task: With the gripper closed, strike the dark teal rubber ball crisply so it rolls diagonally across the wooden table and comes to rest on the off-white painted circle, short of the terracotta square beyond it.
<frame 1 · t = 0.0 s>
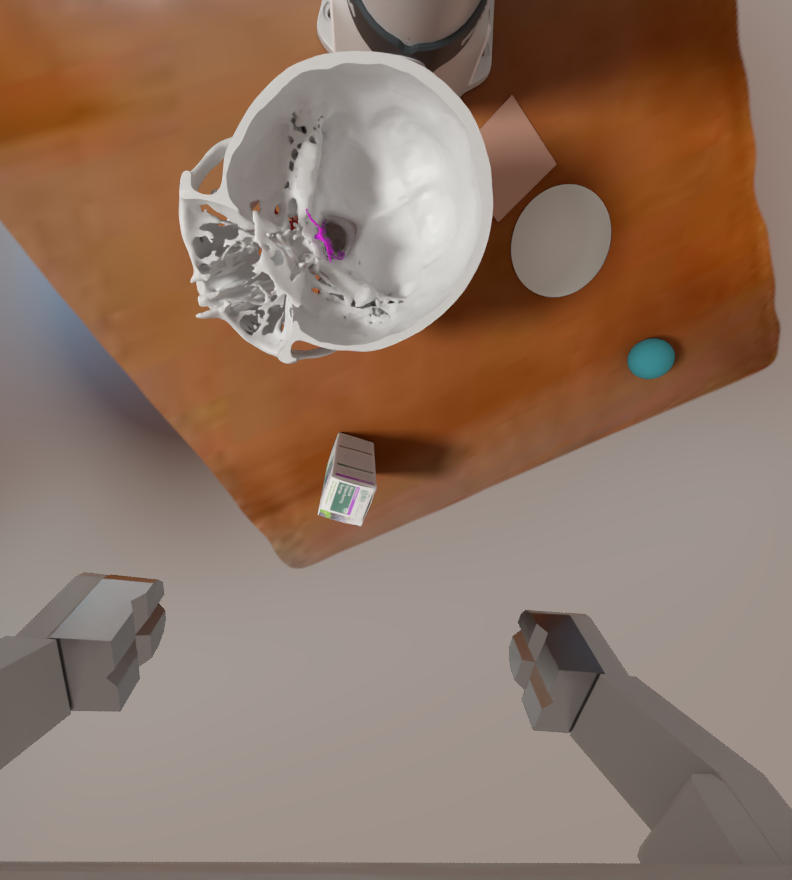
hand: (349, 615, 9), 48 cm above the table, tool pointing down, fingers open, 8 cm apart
syrup box: (351, 452, 60), on the table
ball: (650, 358, 54), on the table
skull: (345, 255, 50), on the table
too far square: (504, 162, 47), on the table
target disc: (560, 243, 50), on the table
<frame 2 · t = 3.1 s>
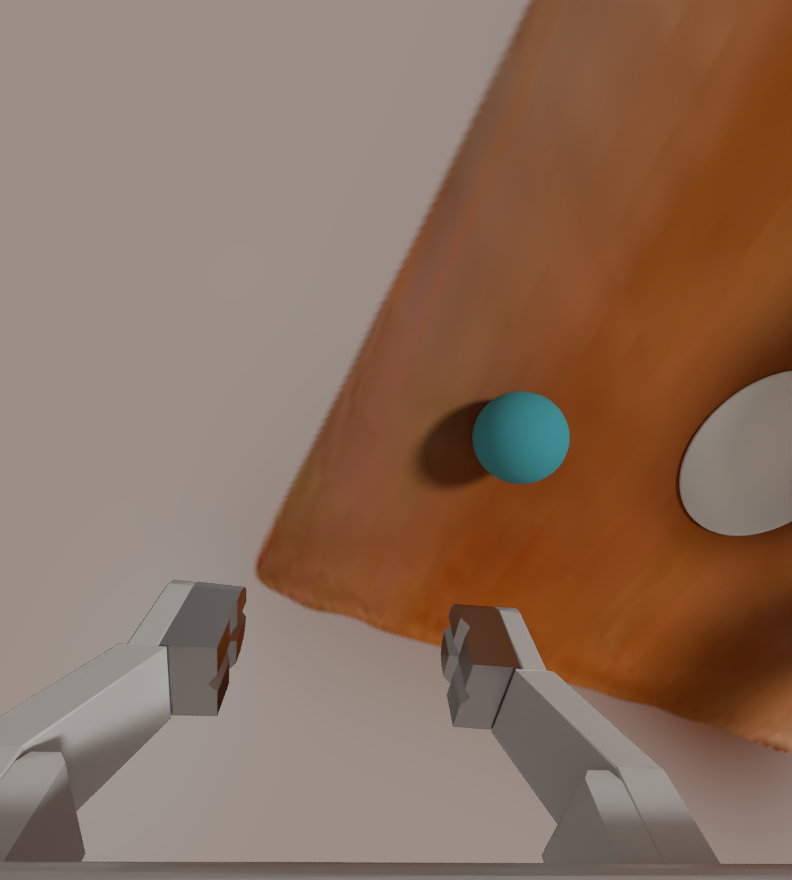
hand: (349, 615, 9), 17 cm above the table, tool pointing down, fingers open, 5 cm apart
ball: (519, 437, 23), on the table
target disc: (768, 458, 28), on the table
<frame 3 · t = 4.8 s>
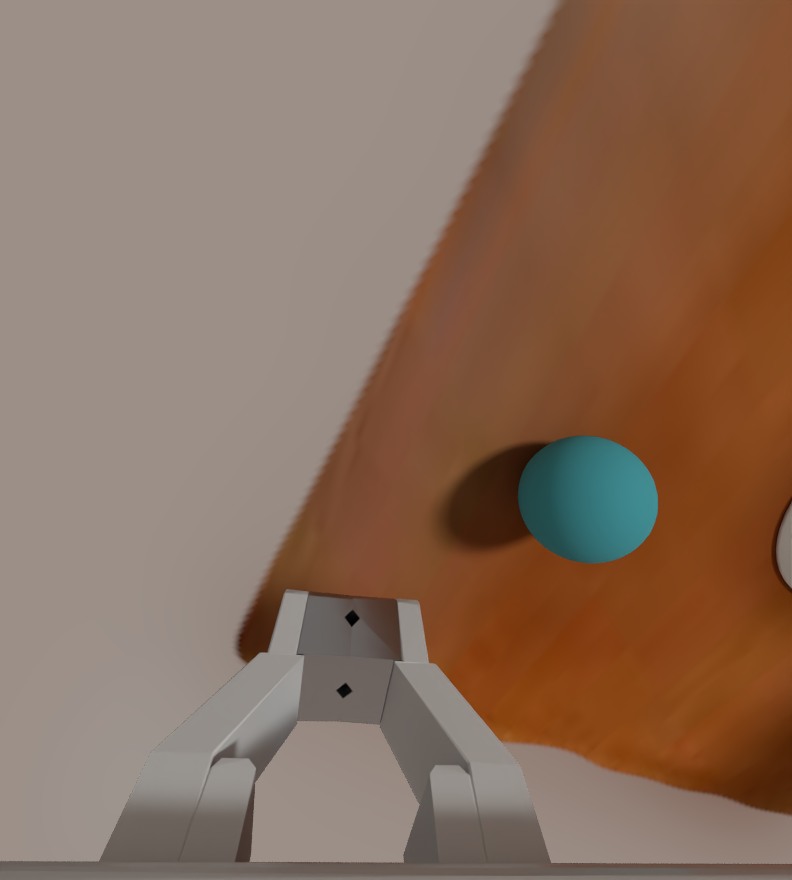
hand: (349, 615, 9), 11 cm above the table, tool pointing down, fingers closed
ball: (583, 497, 17), on the table
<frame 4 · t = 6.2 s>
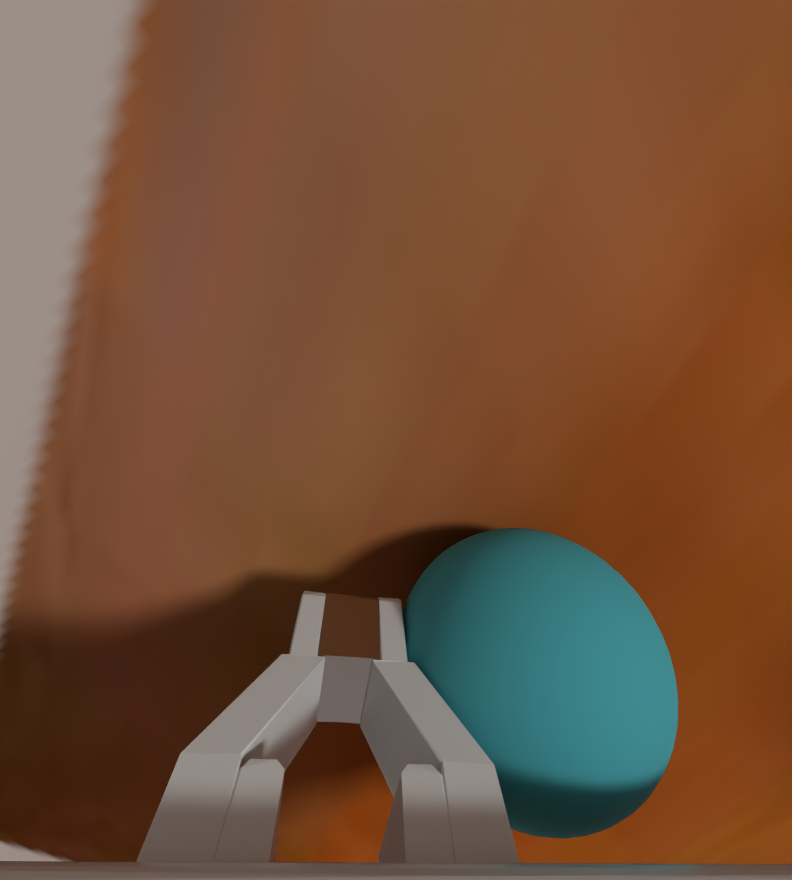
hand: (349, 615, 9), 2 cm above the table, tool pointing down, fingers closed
ball: (522, 657, 8), on the table, touching gripper
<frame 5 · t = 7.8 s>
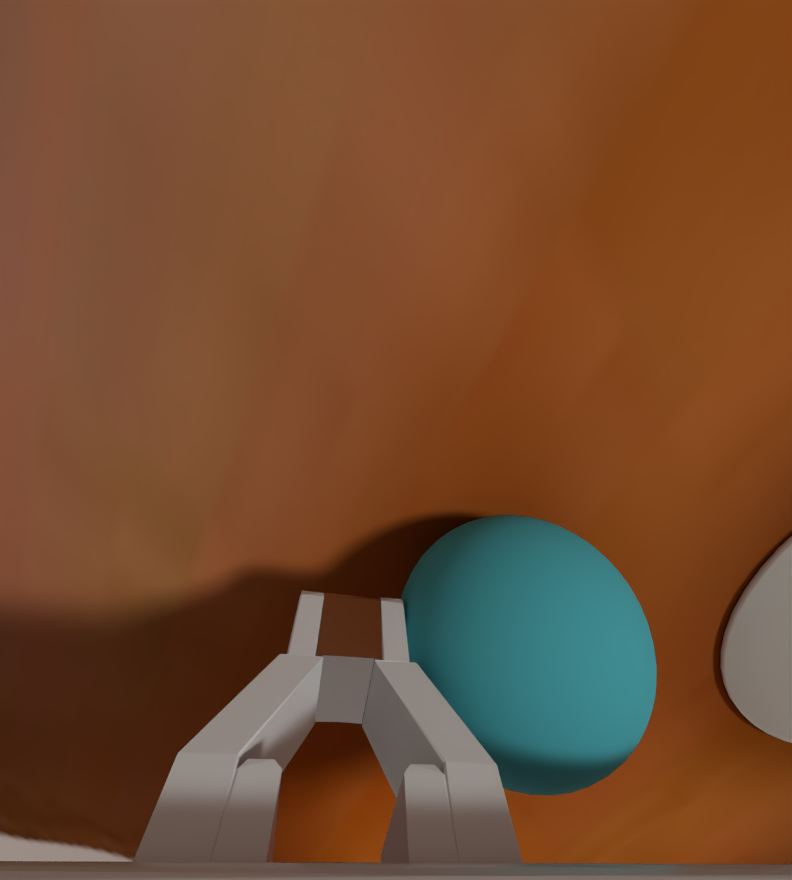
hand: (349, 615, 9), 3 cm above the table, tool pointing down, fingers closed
ball: (514, 635, 9), on the table, touching gripper
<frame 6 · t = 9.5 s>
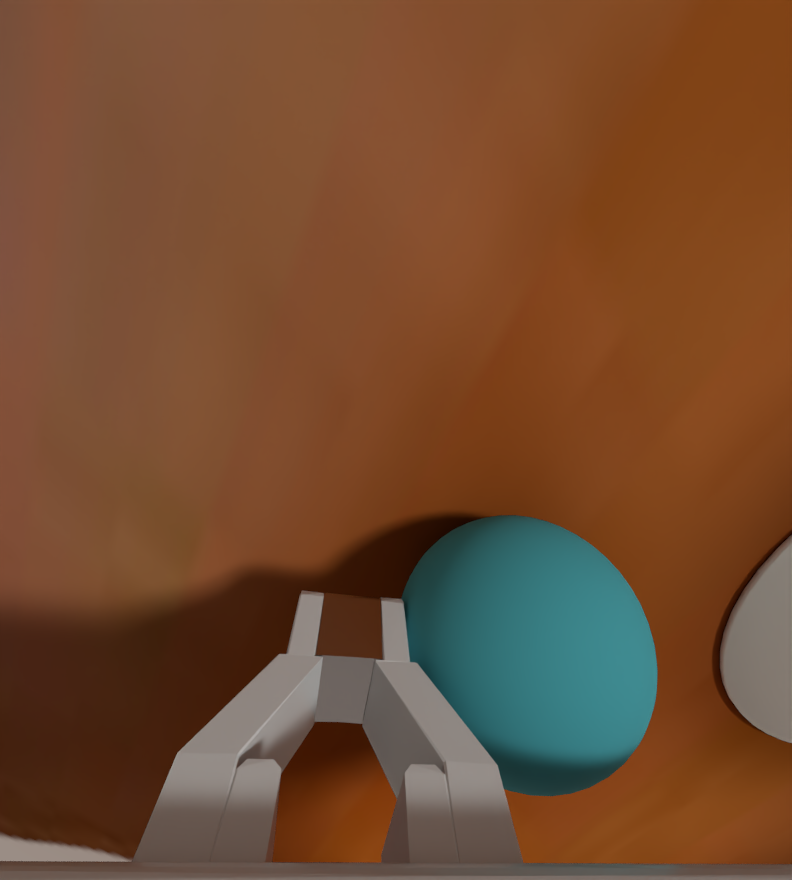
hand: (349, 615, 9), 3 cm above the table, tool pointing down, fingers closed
ball: (514, 635, 9), on the table, touching gripper
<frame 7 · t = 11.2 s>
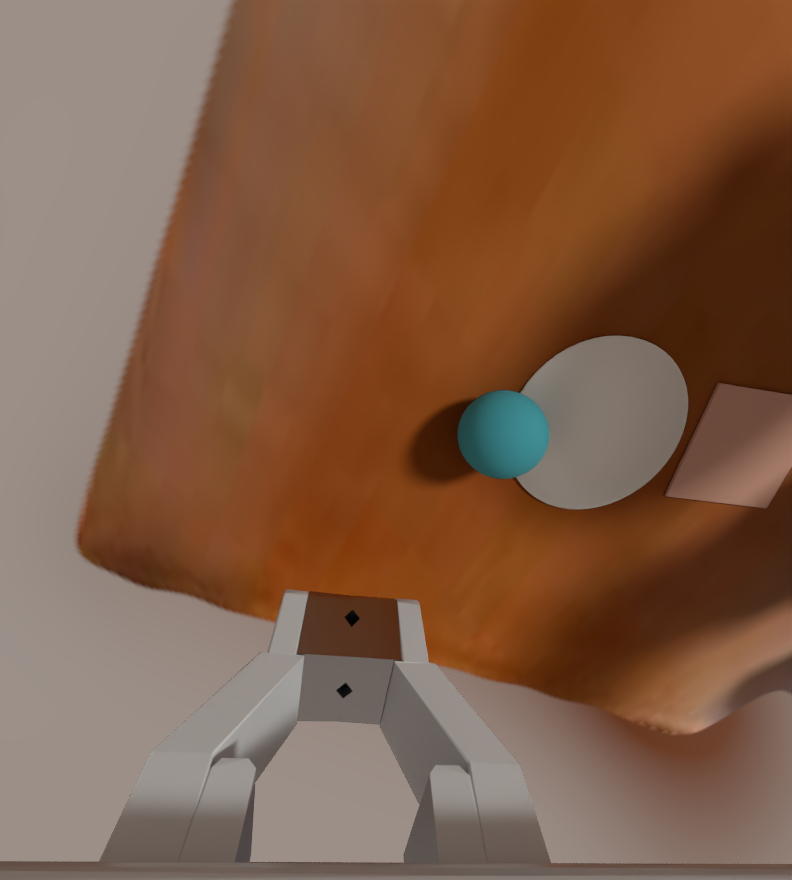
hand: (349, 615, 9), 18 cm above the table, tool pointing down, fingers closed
ball: (502, 434, 24), on the table
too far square: (742, 449, 29), on the table
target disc: (595, 429, 28), on the table
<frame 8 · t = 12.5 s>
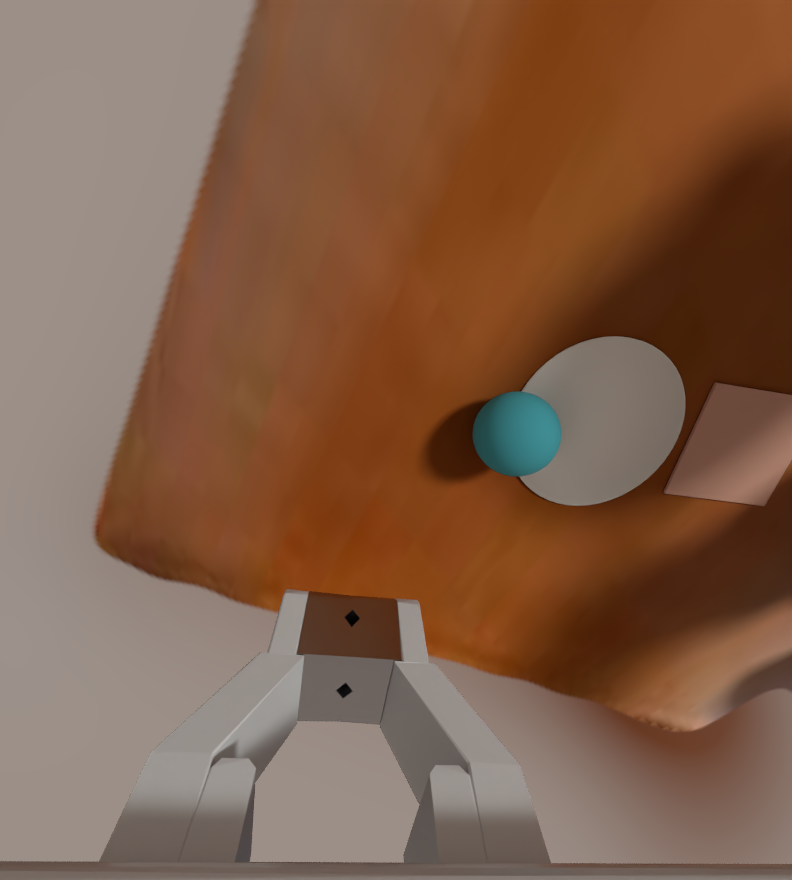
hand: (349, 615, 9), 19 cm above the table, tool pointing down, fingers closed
ball: (515, 434, 25), on the table
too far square: (740, 447, 30), on the table
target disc: (595, 427, 29), on the table
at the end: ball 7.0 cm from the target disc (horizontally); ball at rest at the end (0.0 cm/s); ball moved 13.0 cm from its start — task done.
